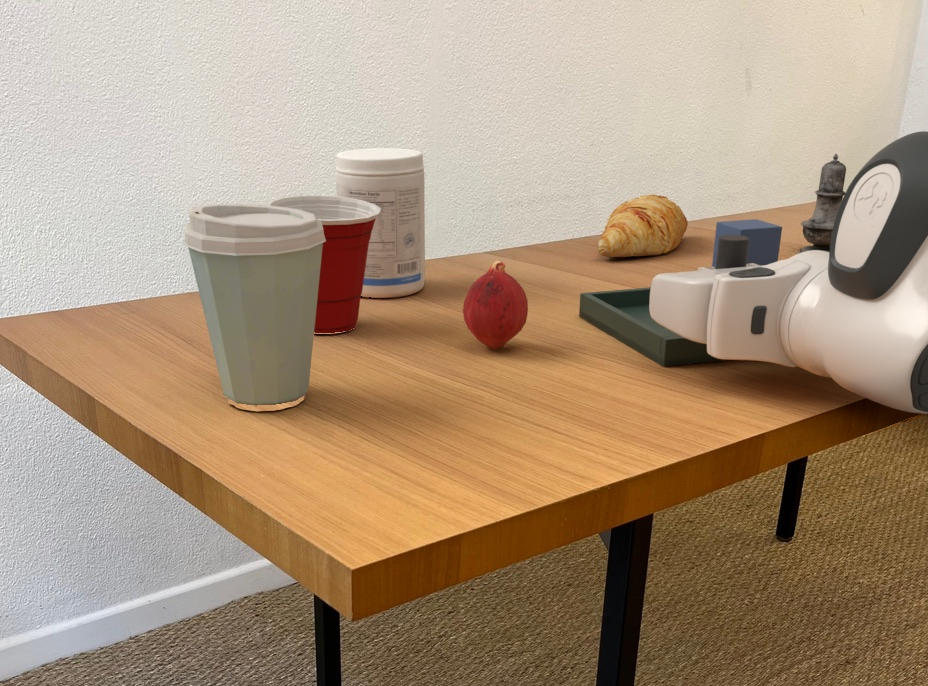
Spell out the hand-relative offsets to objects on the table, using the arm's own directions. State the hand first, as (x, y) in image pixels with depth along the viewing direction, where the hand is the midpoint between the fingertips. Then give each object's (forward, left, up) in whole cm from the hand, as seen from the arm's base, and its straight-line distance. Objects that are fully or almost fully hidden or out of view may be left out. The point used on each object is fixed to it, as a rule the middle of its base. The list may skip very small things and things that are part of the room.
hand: (722, 274), depth 94 cm
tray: (0, -4, -6) cm, 7 cm away
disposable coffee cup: (+42, +4, -7) cm, 43 cm away
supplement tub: (+24, -30, -7) cm, 39 cm away
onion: (+20, -4, -7) cm, 22 cm away
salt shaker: (-34, -32, -7) cm, 47 cm away
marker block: (-14, -18, -6) cm, 24 cm away
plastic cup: (+33, -16, -7) cm, 37 cm away
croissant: (-14, -42, -7) cm, 45 cm away
